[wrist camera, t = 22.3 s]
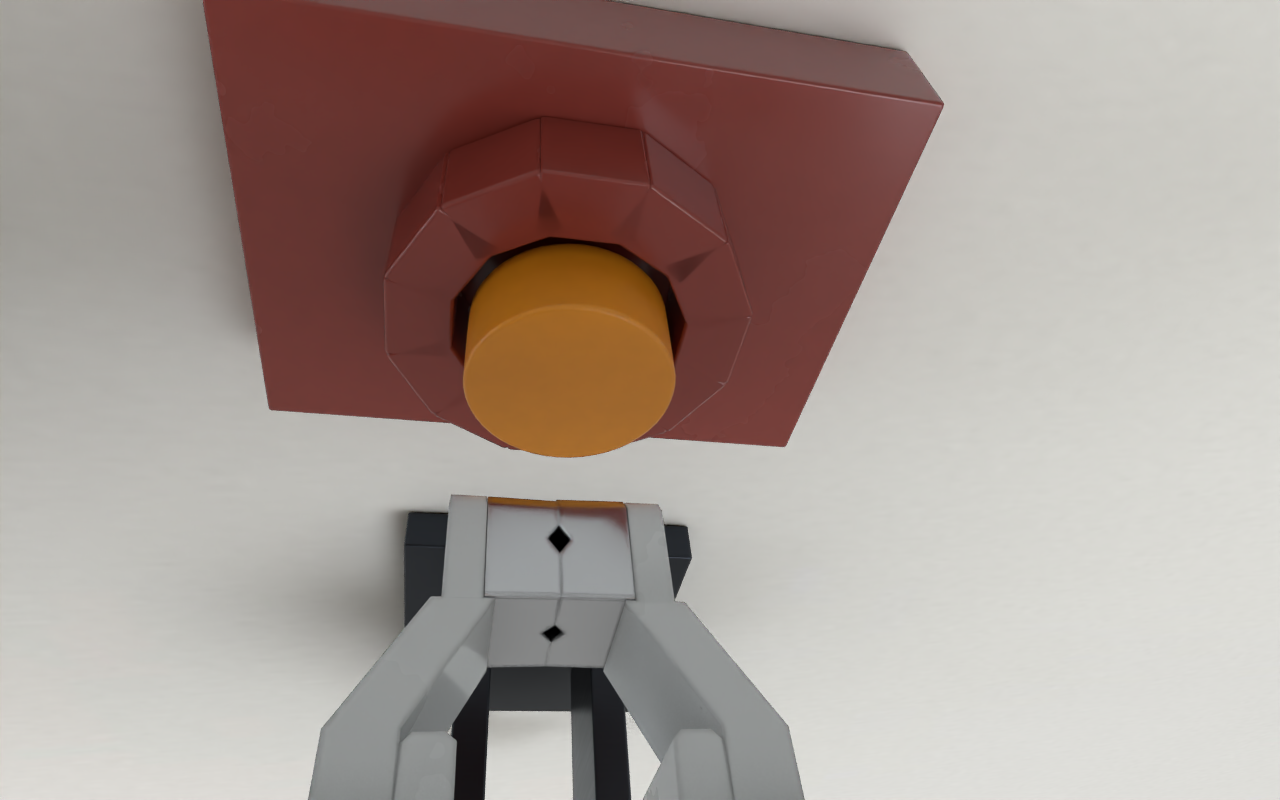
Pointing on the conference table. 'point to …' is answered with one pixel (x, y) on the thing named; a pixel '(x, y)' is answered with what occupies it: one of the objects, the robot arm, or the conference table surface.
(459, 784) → the lever bracket
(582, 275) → the orange push button
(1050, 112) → the conference table surface
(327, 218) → the button housing
